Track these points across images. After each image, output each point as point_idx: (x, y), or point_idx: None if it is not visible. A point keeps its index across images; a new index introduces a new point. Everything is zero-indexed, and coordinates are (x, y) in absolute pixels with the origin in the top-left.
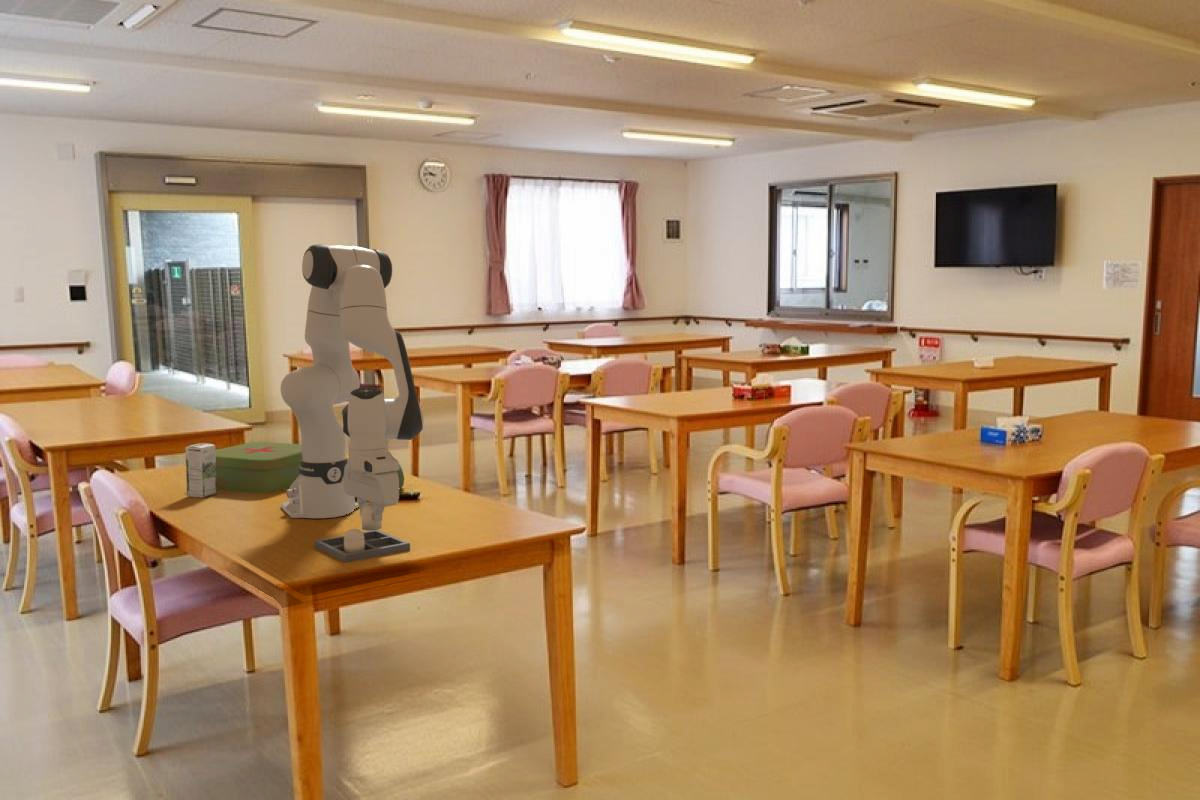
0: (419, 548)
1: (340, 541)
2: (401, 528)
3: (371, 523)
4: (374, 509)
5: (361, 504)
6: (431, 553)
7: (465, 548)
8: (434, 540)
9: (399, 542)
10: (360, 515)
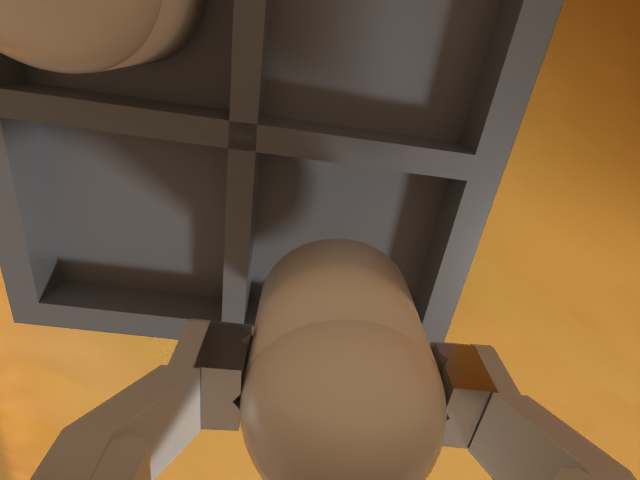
0: (129, 361)
1: (480, 93)
2: (484, 473)
3: (266, 300)
4: (246, 433)
5: (540, 455)
6: (9, 349)
7: (13, 461)
8: (210, 455)
9: (100, 303)
10: (491, 347)
